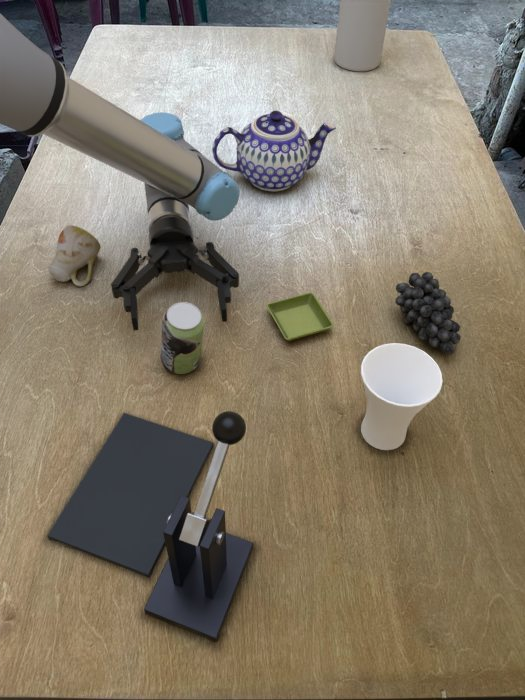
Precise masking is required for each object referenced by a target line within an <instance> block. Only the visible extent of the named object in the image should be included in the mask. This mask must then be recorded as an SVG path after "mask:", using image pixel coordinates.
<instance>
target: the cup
mask: <svg viewBox="0 0 525 700" xmlns="http://www.w3.org/2000/svg"><path fill="white" fill-rule="evenodd" d="M360 375H361V379H362V383H363V387H364V392H365V397H366V409H365V414H364V417H363V420H362V421H361V425H360V432H361V436H362V437H363V439H364V441H365V442H366V443H367V444H368V445H369V446H372V447H373V448H375V449H378V450H381V451H392V450H396V449H398V448H399V447H401V446H402V445H403V444H404V442H405V440H406V436H407V433H408V429H409V426H410V424H411V422H412V421H413V419H414V417H415V416H416V415H417V414H418V413H419V412H420V411H421V410H423V409H424V408H425V407H426V406H427V405H428V404H429V403H431V402H432V401H433V400H435V398H437V396H438V395H439V393H440V392H441V390H442V386H443V373H442V371H441V368H440V366H439V365H438V363H437V362H436V360H434V359H433V357H432V356H431V355H429V354H428V353H427V352H426V351H424V350H422V349H420V348H419V347H417V346H414V345H410V344H406V343H399V342H398V343H397V342H391V343H384V344H380V345H378V346H376V347H374V348H373V349H371V350H370V351H368V352H367V353H366V355H364V357H363V360H362V362H361V364H360Z"/></svg>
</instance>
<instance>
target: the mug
mask: <svg viewBox="0 0 525 700" xmlns="http://www.w3.org/2000/svg"><path fill="white" fill-rule="evenodd" d="M101 248H102V247H101V243H100V242H99V240H98V239H97V238H96V237H95V236H94V235H93V234H91V233H90V232H89V231H87V230H86V229H84V228H82V227H80V226H77V225H72V224H69V225H66V226H65V227H64V228H63V229H62V231H61V232H60V233H59V236H58V238H57V243H56V250H55V255H54V258H53V260H52V262H51V263H50V264H49V266H48V272H49V274H50V276H51V277H52V278H53V279H54V280H56V281H58V282H63V283H64V282H69V281H70V280H71V281H72V283H73V285H74V286H76V287H84V286H86V285H87V284H89V282H90V281H91V278H92V274H93V273H92V272H93V266H94V264H95V261H96V257H97V256H98V255H99V253H100V251H101ZM84 266H85V267H86V266H87V274H86V275H87V276H86V277H85V279H84V280H82V281H80V280H78V279H77V272H78V271H79V270H80V269H82V268H83V267H84Z"/></svg>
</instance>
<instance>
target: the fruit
mask: <svg viewBox="0 0 525 700" xmlns="http://www.w3.org/2000/svg"><path fill="white" fill-rule="evenodd" d="M395 290H396V292H397V293H398V294H400V295H397V297H396V298H395V301H394V302H395V304H396V306H399V307H400V309H399V310H400V312H401V314H403V316H402V321H403V323H404V324H405V325H411V324H412V329H413V330H414V331H415V332H418V334H417V335H418V338H419V339H420V340H421V341H428V345H429V346H430V347H431V348H434V349H437V348H438V350H439V351H440V352H441V353H444V354H445V355H447V356H451V355H453V354H455V351H456V348H455V345H457V344H459V343H460V341H461V334H460V333H458V332H460V331H461V330H460V329H461V325H460V323H458V322H457V321H456V320H455V321H454V320H453V314H454V313H455V308H454V306H452V305H451V304H452V300H451V298H450V297H448V296H447V292H446V290H444V289H440V284H439V280H438V279H437V278H434V275H433V274H432V273H431V272H429V271H425V272H423V273H422V274H420V273H418V272H412V273H411V274H409V278H408V282H400V283H397V284H396V286H395Z"/></svg>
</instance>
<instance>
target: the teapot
mask: <svg viewBox="0 0 525 700" xmlns="http://www.w3.org/2000/svg"><path fill="white" fill-rule="evenodd" d="M336 129H337V127H336V126H335V124H332V123H329V122H323V123H322V124H321V125H320V126H319V128H318V129H317V130H316V132H315V134H314V136H313V137H311V138H309V137H308V135H307V133H306V132H305V131H304V129H303V128H302V127H301V126H300V124H299V122H298V121H297V120H296V119H295V118H293V117H292V116H290V115H287V114H284V113H282V112H281V111H279V110H272V111H271V112H268V113H263V114H260V115H258V116H256V117H255V118H253V119H252V121H251V122H249V124H247V125H246V126H244V128H243V129H242V130H241V132H239V131H238V130H236V129H235V128H233V127H232V126H231V127H230V126H227V127H225V128H223V129H221V131H219V133H218V134H217V136H216V137H215V138H214V140H213V143H212V148H211V150H212V157H213V159H214V161H215V163H216V164H217V166H218V167H221V168H223V169H225V170H228V171H232V172H238V173H241V174H242V175H243V177H244V178H245V179H247V180H248V181H249V182H250V183H251V184H252V186H254V187H255V188H258V190H262V191H266V192H281V191H284V190H287V189H289V188H290V187H292V186H293V185H296V184H297V183H298V182H299V181H300V180H302V179H303V177H304V176H305V174H306V172H307V171H309V170H311V169H312V168H314V167H315V166H316V165H317V163H318V162H319V161H320V157H321V156H322V152H323V150H324V149H323V148H324V146H325V141H326V139H327V137H328V135H329V134H330V133H331V132H333V131H334V130H336ZM226 135H232V136H233V137H234V140H235V142H236V162H234V163H227V162H225V161H223V160H222V159H221V158H220V157H219V155H218V146H219V145H220V142H221V141H222V139H223V138H225V136H226Z"/></svg>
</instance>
